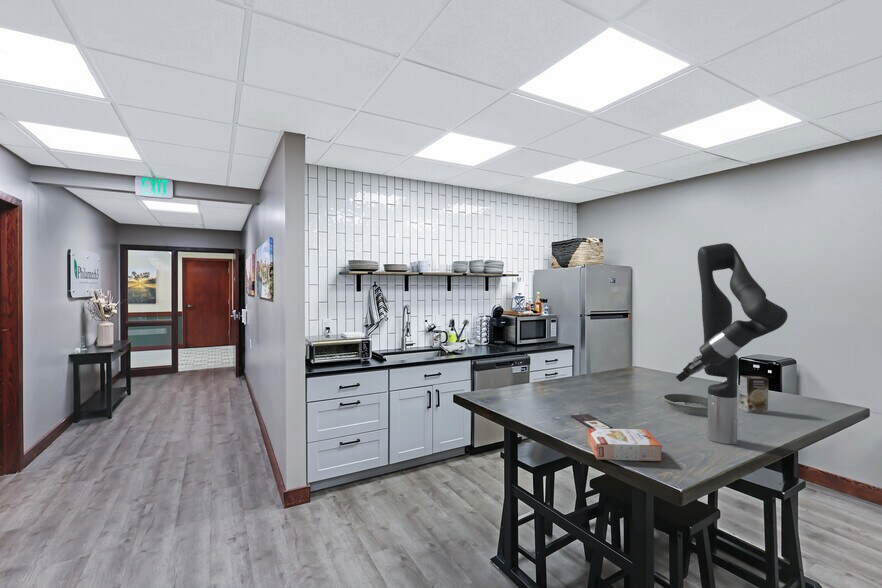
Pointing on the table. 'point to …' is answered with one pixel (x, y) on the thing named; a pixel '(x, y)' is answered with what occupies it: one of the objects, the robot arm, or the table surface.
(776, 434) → the table surface
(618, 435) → the cracker box
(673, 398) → the cake pan
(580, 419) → the chocolate bar
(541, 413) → the table surface
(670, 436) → the table surface
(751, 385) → the coffee box
